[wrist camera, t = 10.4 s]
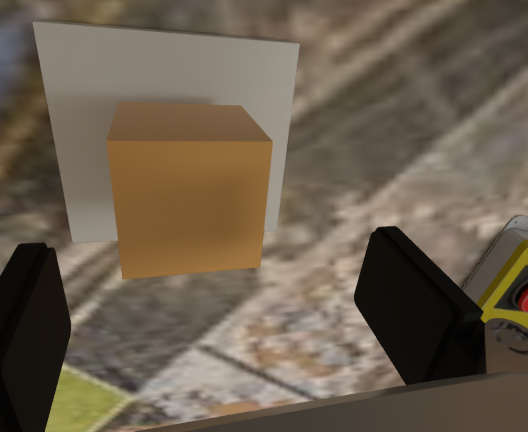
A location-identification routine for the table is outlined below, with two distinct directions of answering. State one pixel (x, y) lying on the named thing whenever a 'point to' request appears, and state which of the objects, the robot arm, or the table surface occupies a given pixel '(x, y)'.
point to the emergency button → (503, 275)
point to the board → (152, 99)
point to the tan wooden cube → (188, 187)
